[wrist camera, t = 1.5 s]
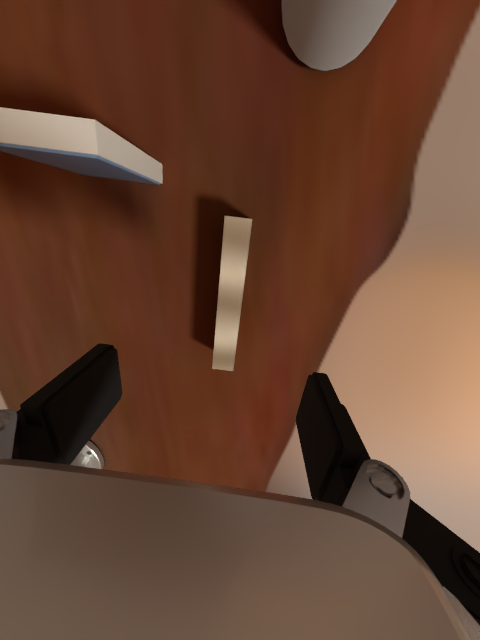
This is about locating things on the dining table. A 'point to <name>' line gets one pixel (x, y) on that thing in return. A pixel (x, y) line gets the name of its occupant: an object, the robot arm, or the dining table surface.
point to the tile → (75, 146)
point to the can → (331, 29)
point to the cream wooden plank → (230, 290)
